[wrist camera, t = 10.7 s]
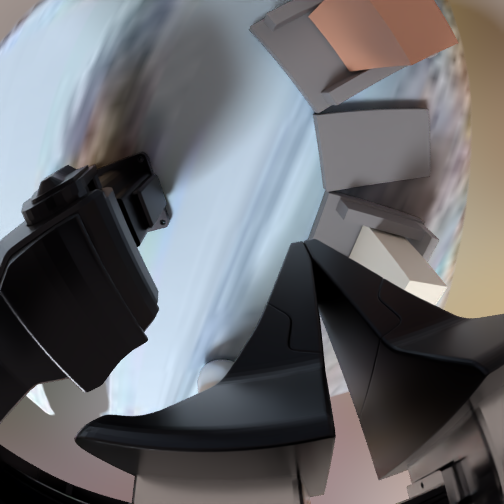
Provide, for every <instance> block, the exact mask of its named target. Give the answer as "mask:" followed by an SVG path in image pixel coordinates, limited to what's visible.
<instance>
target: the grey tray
mask: <svg viewBox="0 0 504 504" xmlns="http://www.w3.org/2000/svg"><path fill="white" fill-rule="evenodd" d="M323 1H324V0H292V1H290V2H288V3H286V4H284V5H282V6H280V7H278V8H276V9H274V10H272V11H271V12H269V13H267V14H266V16H265V18H264V19H262V20H260V21H259V22H257V23H255V24H254V25H252V26H250V29H249V30H250V31H251V32H252V33H253V34H254V36H255V37H256V38H257V39H258V40H259V41H260V42H261V43H262V45H263V46H264V47H265V48H266V49H267V50H268V52H269V53H270V54H271V55H272V56H273V58H274V59H275V60H276V61H277V62H278V64H279V65H280V66H281V67H282V69H283V70H284V71H285V72H286V74H287V75H288V76H289V78H290V79H291V80H292V81H293V83H294V84H295V85H296V87H297V88H298V89H299V91H300V92H301V94H302V95H303V96H304V98H305V99H306V100H307V102H308V103H309V105H310V106H311V107H312V109H313V110H314V112H315V113H320V112H322V111H323V110H325V109H326V108H328V107H330V106H331V105H339V104H340V103H342V102H344V101H345V100H347V99H349V98H350V97H352V96H354V95H356V94H357V93H359V92H361V91H362V90H364V89H366V88H368V87H369V86H371V85H373V84H375V83H376V82H378V81H380V80H382V79H384V78H385V77H387V76H389V75H391V74H393V73H395V72H397V71H398V70H400V69H402V68H404V67H406V66H408V65H406V66H392V67H382V68H373V69H365V70H358V71H351V72H349V70H348V69H347V67H346V66H345V64H344V63H343V61H342V60H341V58H340V57H339V56H338V54H337V53H336V51H335V50H334V49H333V47H332V46H331V45H330V43H329V42H328V41H327V39H326V38H325V37H324V35H323V34H322V33H321V32H320V30H319V29H318V28H317V27H316V25H315V24H314V23H313V22H312V21H311V19H310V18H309V17H308V16H309V15H310V14H311V13H312V12H313V11H314V10H315V9H316V8H317V7H318V6H319V5H320V4H321V3H322V2H323ZM437 54H438V53H435V54H433V55H431V56H429V57H427V58H431V57H433V56H435V55H437ZM313 118H314V124H315V130H316V137H317V143H318V150H319V157H320V164H321V172H322V180H323V188H324V189H325V193H324V196H323V199H322V202H321V205H320V207H319V210H318V213H317V216H316V219H315V222H314V224H313V227H312V230H311V233H310V235H309V238H308V240H311V239H317V240H319V241H321V242H322V243H324V244H326V245H328V246H330V247H331V248H333V249H335V250H337V251H338V252H340V253H342V254H344V255H345V256H347V257H349V256H350V254H351V252H352V249H353V247H354V245H355V243H356V240H357V238H358V236H359V234H360V231H361V229H362V227H363V226H367V227H371V228H374V229H378V230H382V231H386V232H389V233H393V234H396V235H400V236H404V237H405V238H406V239H407V240H408V241H409V242H410V243H411V245H412V246H413V247H414V248H415V249H416V250H417V251H418V252H419V253H420V255H421V256H422V257H423V258H424V259H425V260H426V262H428V261H429V259H430V257H431V255H432V253H433V251H434V249H435V247H436V245H437V244H438V242H439V239H438V238H437V237H436V236H435V235H434V234H433V233H432V232H431V231H429V230H428V229H427V228H426V227H425V226H424V223H425V222H423V221H422V220H421V219H420V218H418V217H415V216H412V215H410V214H407V213H404V212H401V211H398V210H395V209H392V208H389V207H386V206H382V205H379V204H376V203H373V202H370V201H366V200H363V199H360V198H356V197H353V196H349V195H346V194H342V193H339V192H335V191H336V190H341V189H347V188H353V187H360V186H366V185H372V184H379V183H386V182H392V181H400V180H407V179H414V178H422V177H430V127H429V112H428V109H423V108H387V109H366V110H352V111H340V112H331V113H322V114H314V115H313Z"/></svg>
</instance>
